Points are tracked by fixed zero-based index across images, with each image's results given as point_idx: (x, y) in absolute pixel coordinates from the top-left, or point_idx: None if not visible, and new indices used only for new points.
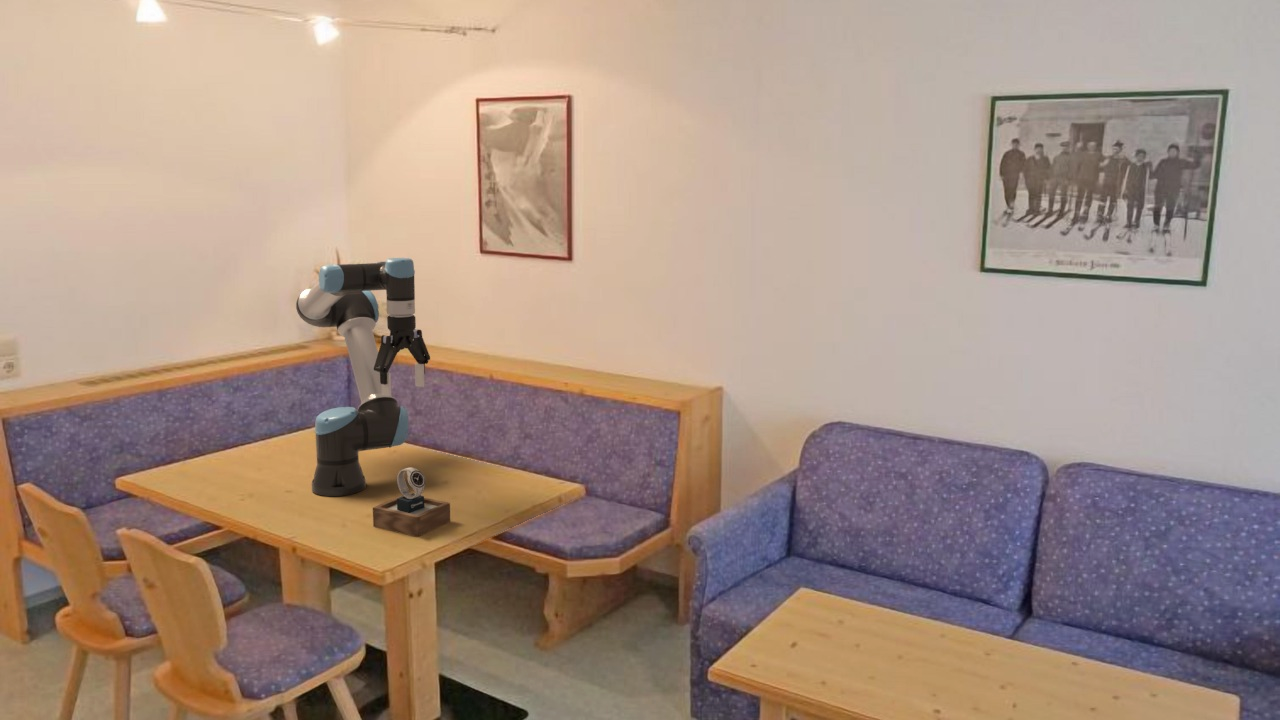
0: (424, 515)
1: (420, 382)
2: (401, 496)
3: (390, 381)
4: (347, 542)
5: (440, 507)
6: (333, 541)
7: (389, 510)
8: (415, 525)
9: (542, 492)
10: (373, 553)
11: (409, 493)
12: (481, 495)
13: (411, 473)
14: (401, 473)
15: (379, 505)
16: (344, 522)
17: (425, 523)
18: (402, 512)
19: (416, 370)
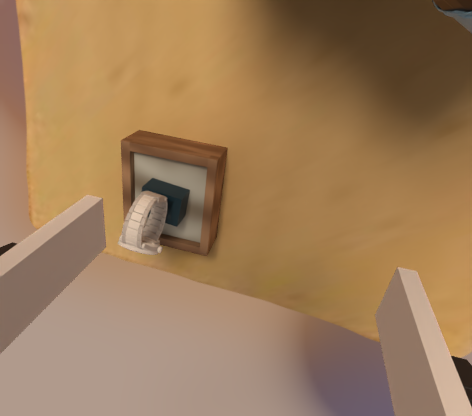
0: None
1: (386, 323)
2: (198, 159)
3: (44, 304)
4: (67, 130)
5: (182, 249)
6: (56, 105)
7: (125, 178)
8: None
9: None
10: (62, 190)
11: (164, 203)
12: (366, 236)
13: (122, 246)
14: (139, 208)
15: (136, 146)
16: (127, 63)
17: None
18: (129, 204)
19: (422, 376)
